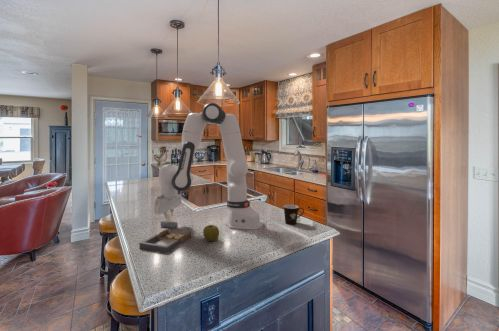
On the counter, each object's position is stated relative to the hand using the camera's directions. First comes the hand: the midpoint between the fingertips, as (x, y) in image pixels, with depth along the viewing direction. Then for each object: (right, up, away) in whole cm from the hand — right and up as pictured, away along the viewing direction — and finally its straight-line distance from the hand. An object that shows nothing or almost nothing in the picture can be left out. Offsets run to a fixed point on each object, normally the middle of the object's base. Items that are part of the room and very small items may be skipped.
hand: (168, 217), depth 148 cm
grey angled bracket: (+4, -8, -25) cm, 27 cm away
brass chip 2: (+10, -8, -16) cm, 21 cm away
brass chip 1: (+6, -8, -15) cm, 17 cm away
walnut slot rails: (+7, -7, -16) cm, 20 cm away
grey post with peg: (0, -6, +1) cm, 6 cm away
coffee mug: (+71, -5, +6) cm, 72 cm away
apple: (+27, -8, -19) cm, 34 cm away
